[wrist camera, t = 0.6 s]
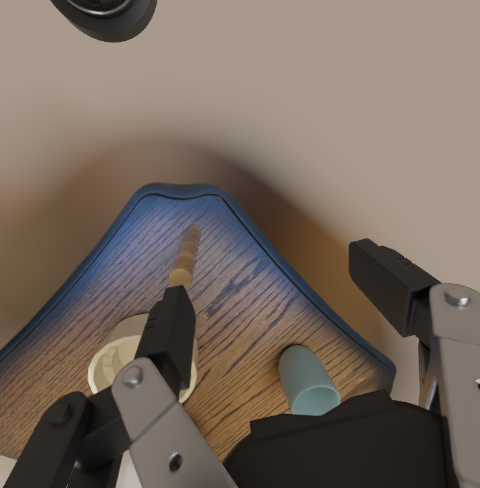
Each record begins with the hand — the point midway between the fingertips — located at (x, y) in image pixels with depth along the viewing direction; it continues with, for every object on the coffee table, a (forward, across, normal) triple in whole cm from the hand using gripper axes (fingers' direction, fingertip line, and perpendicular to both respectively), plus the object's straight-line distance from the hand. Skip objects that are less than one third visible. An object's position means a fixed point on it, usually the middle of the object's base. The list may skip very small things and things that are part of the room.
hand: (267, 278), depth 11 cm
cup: (+20, -3, +35) cm, 40 cm away
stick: (+23, +8, +6) cm, 25 cm away
